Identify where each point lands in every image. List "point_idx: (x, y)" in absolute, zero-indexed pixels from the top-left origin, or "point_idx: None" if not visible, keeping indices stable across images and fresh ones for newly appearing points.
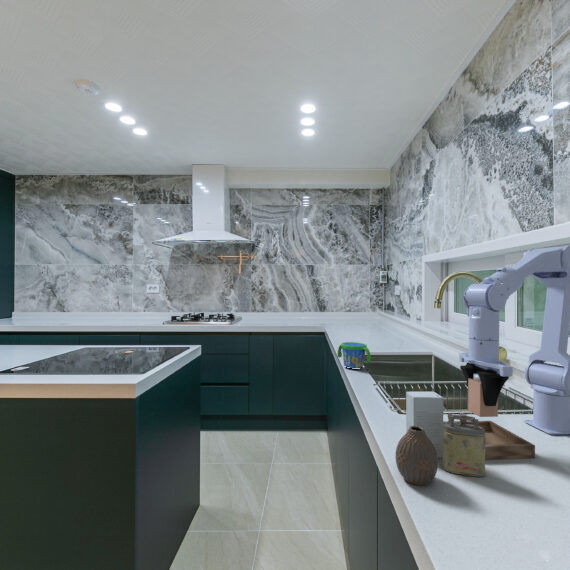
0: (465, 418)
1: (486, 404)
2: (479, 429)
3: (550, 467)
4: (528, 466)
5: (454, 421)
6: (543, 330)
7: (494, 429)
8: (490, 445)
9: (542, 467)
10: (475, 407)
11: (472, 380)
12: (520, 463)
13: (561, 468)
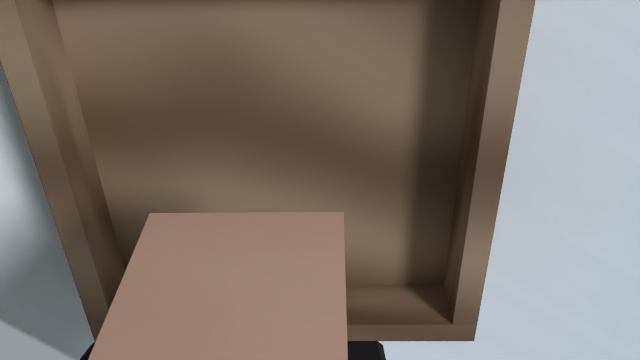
0: None
1: (85, 353)
2: None
3: (24, 290)
4: (7, 207)
5: (511, 100)
6: None
7: (398, 301)
8: (29, 102)
9: (14, 259)
10: (210, 261)
11: None
12: (35, 191)
13: (26, 323)
